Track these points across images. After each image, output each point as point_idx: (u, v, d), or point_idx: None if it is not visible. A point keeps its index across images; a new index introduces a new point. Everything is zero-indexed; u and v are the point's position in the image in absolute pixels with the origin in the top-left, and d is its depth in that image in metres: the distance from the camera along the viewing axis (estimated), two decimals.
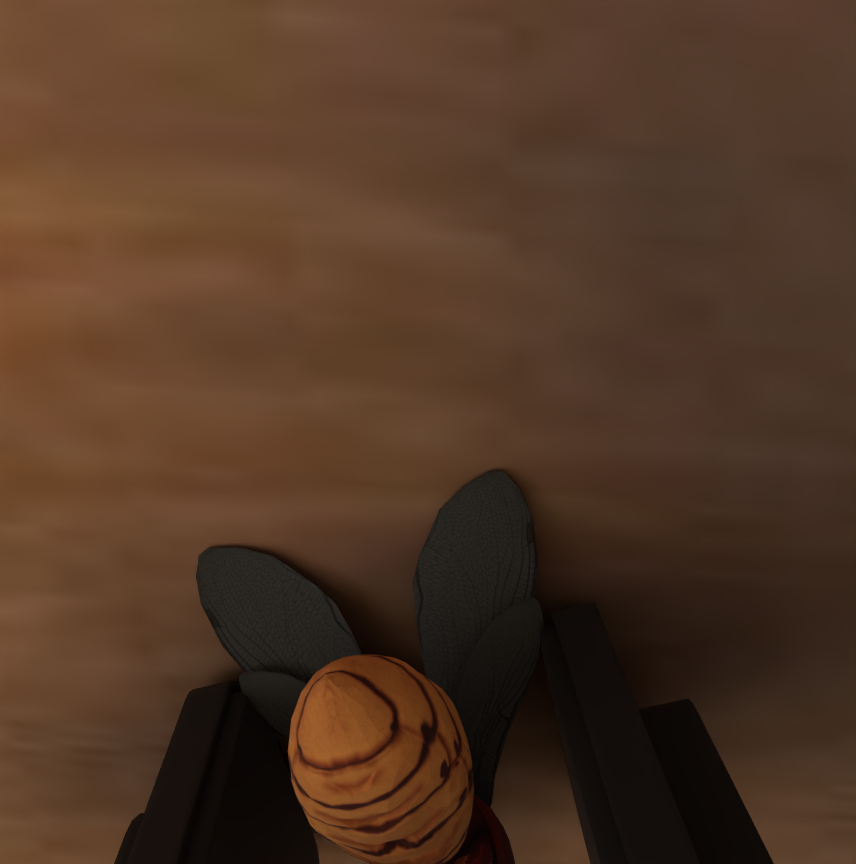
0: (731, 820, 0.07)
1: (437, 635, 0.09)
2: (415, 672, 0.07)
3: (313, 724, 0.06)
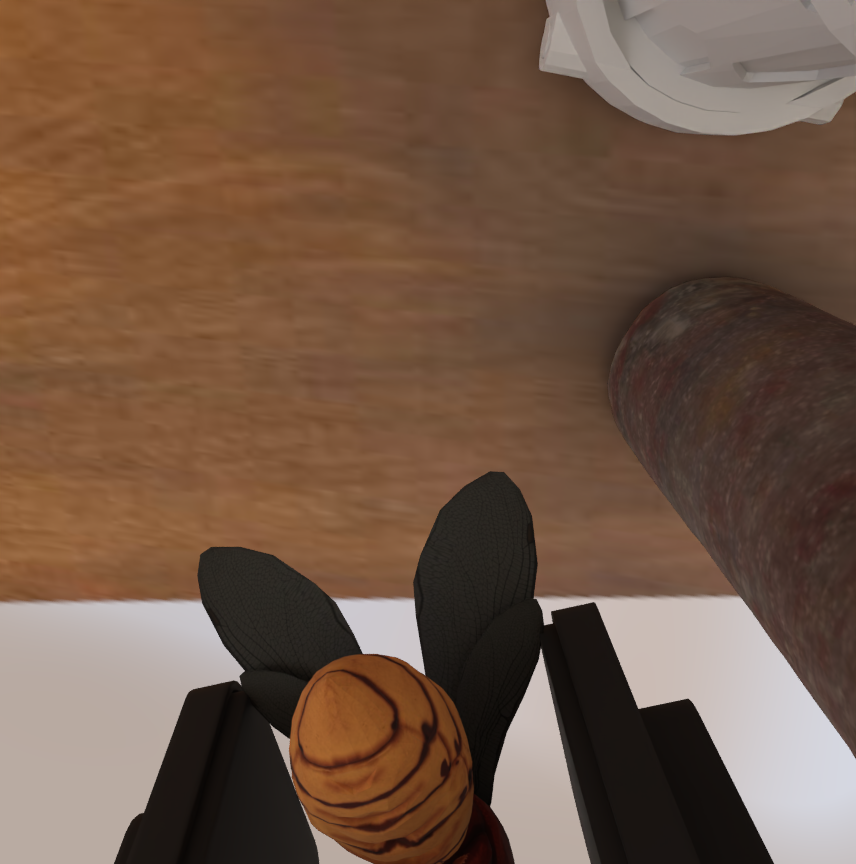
0: (732, 820, 0.07)
1: (437, 635, 0.09)
2: (415, 672, 0.07)
3: (314, 724, 0.06)
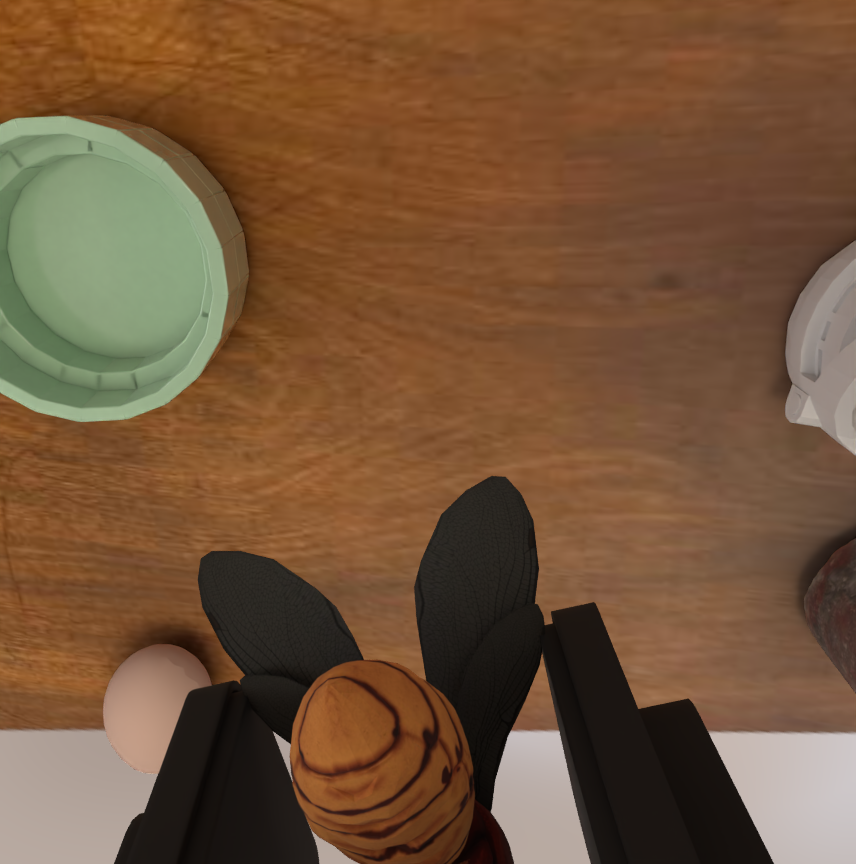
0: (731, 820, 0.07)
1: (438, 640, 0.09)
2: (416, 678, 0.07)
3: (314, 732, 0.06)
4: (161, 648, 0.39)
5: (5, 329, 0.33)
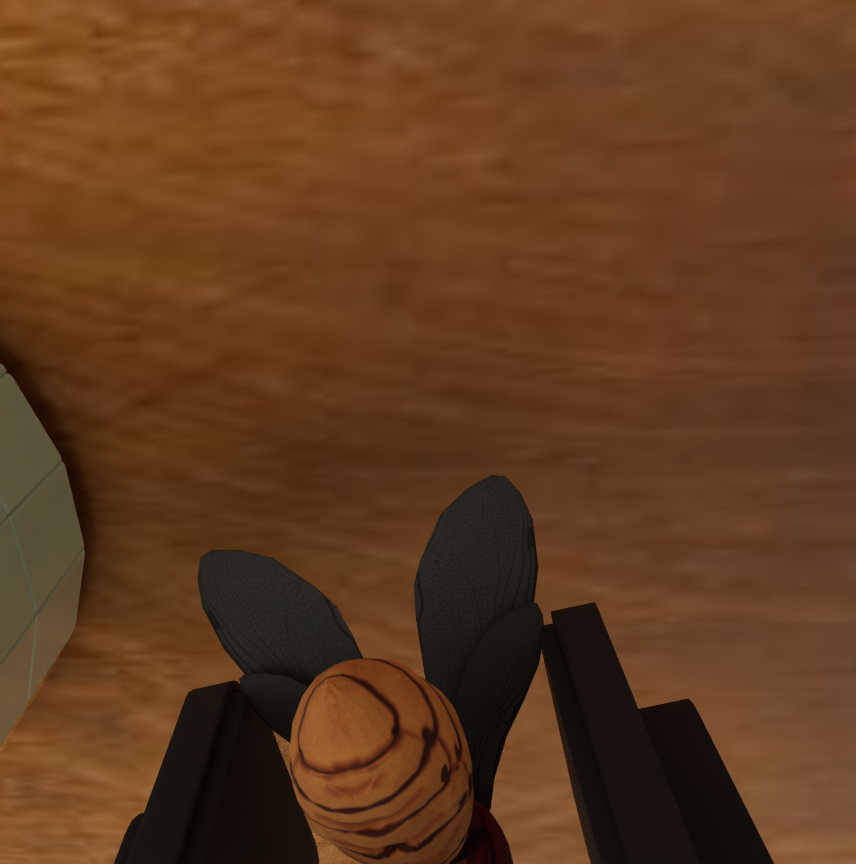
0: (731, 820, 0.07)
1: (437, 638, 0.09)
2: (416, 676, 0.07)
3: (313, 729, 0.06)
4: None
5: None
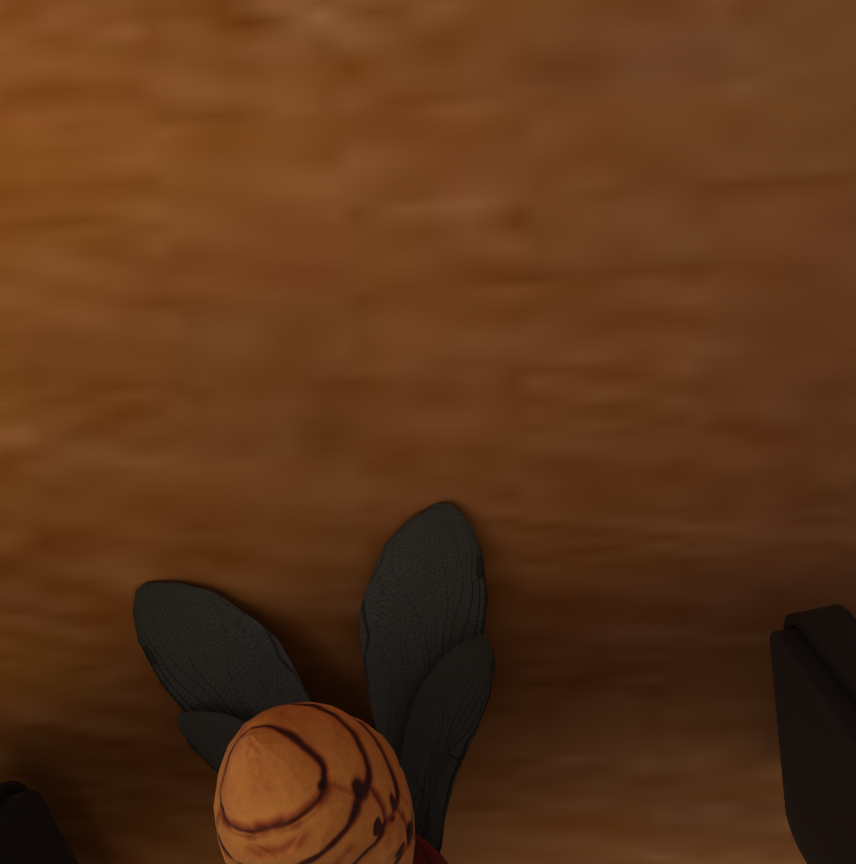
0: None
1: (384, 672, 0.09)
2: (351, 721, 0.07)
3: (235, 785, 0.06)
4: None
5: None
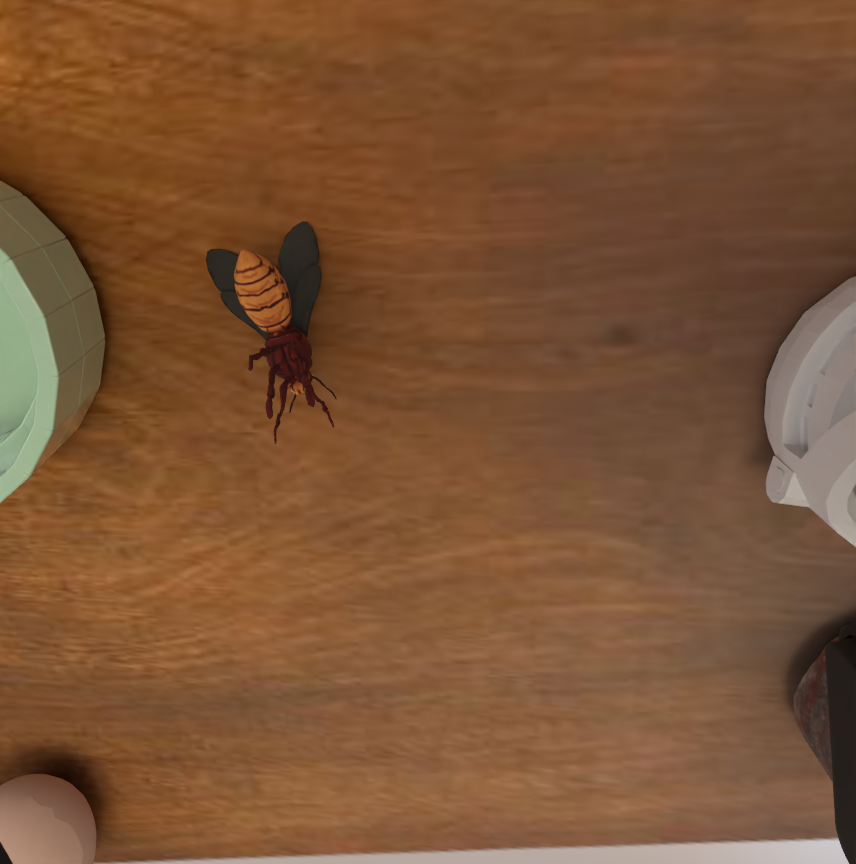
0: None
1: (287, 279, 0.28)
2: (270, 262, 0.26)
3: (239, 261, 0.25)
4: (27, 782, 0.32)
5: None
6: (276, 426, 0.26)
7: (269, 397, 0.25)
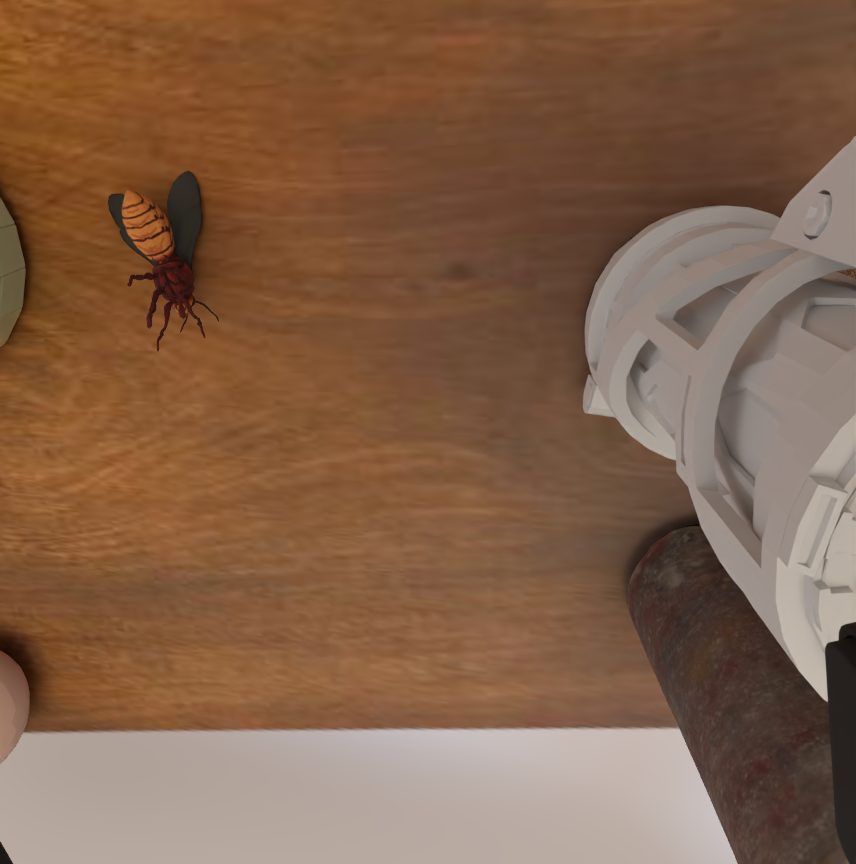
0: None
1: (174, 219, 0.33)
2: (153, 202, 0.31)
3: (124, 199, 0.31)
4: None
5: None
6: (159, 337, 0.32)
7: (150, 311, 0.31)
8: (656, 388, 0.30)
